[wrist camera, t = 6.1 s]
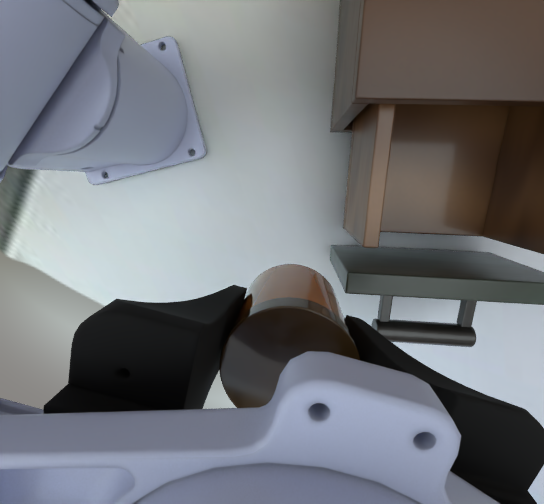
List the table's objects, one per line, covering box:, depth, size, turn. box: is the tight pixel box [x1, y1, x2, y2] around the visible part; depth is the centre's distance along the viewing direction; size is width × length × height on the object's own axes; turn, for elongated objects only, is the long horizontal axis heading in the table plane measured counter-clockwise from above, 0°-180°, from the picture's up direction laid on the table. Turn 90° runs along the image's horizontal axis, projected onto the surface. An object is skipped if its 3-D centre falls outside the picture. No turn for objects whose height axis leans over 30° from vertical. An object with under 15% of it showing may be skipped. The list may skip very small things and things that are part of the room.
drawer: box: [330, 103, 544, 347], centre depth 17 cm, size 18×11×7 cm, turn 178°
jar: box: [219, 264, 361, 408], centre depth 12 cm, size 5×5×5 cm
